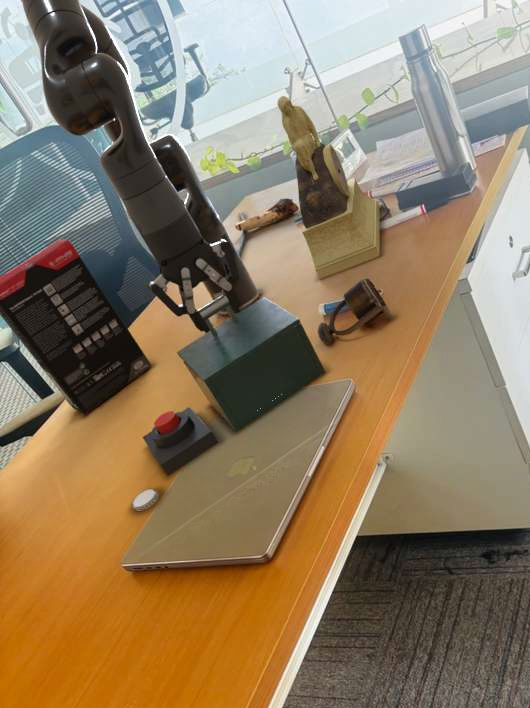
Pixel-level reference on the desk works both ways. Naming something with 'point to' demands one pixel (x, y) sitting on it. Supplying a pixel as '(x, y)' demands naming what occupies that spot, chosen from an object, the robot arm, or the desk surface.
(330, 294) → the desk surface
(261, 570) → the desk surface
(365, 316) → the brown handled cylinder
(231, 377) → the dark green open box
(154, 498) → the bottle cap
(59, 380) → the graphics card box
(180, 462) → the switch block
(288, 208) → the bone fish hook
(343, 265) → the decorative clock
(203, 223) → the robot arm
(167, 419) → the button
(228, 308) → the lid
